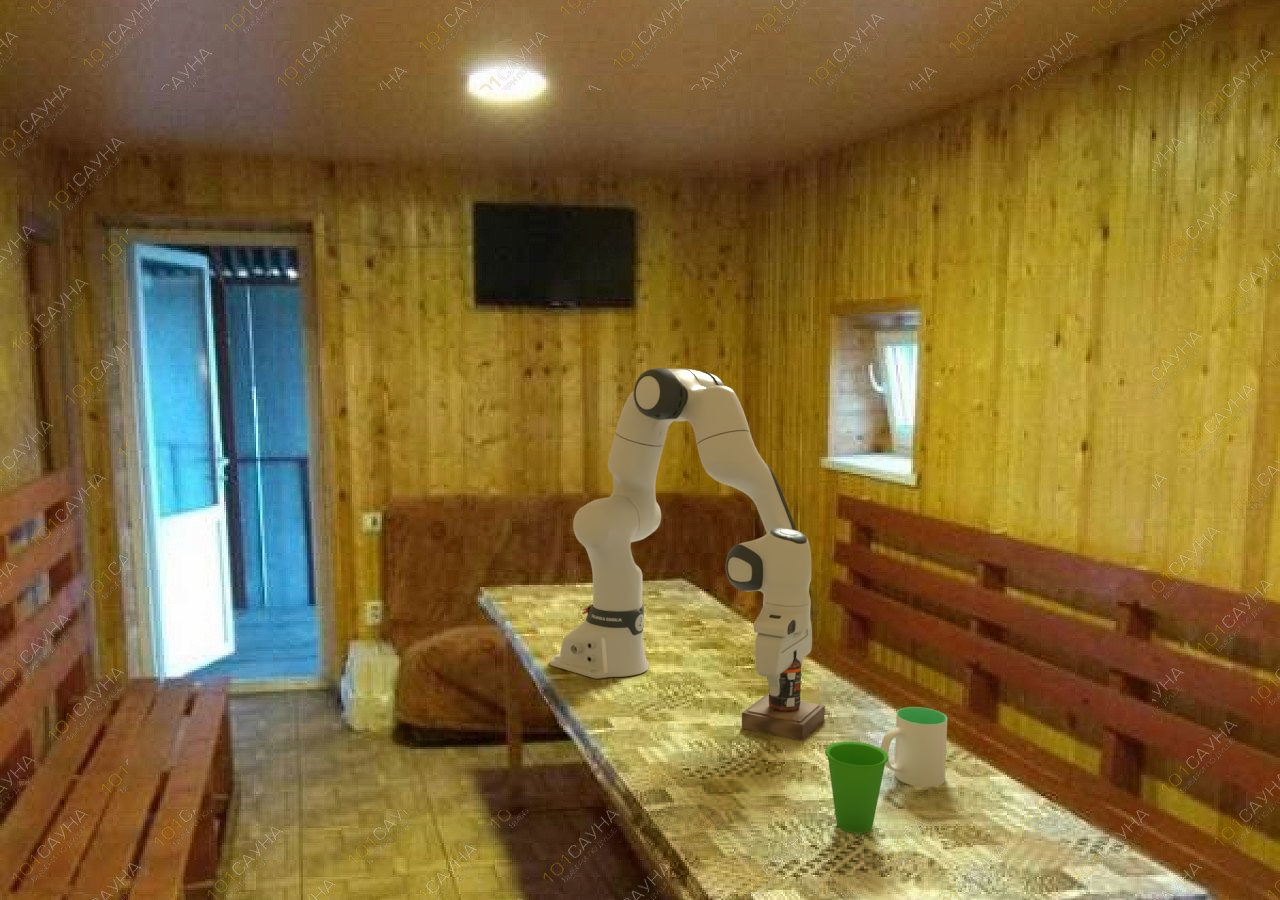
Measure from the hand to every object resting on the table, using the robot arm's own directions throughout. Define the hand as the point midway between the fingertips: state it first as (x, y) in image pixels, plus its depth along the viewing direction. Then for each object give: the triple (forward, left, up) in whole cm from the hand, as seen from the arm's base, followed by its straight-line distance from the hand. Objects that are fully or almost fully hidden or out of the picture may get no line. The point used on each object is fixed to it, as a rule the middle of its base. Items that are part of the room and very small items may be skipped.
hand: (784, 687), depth 180 cm
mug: (+27, -12, -7) cm, 30 cm away
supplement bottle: (0, 0, -4) cm, 4 cm away
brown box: (0, 0, -7) cm, 7 cm away
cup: (+24, -33, -7) cm, 41 cm away
